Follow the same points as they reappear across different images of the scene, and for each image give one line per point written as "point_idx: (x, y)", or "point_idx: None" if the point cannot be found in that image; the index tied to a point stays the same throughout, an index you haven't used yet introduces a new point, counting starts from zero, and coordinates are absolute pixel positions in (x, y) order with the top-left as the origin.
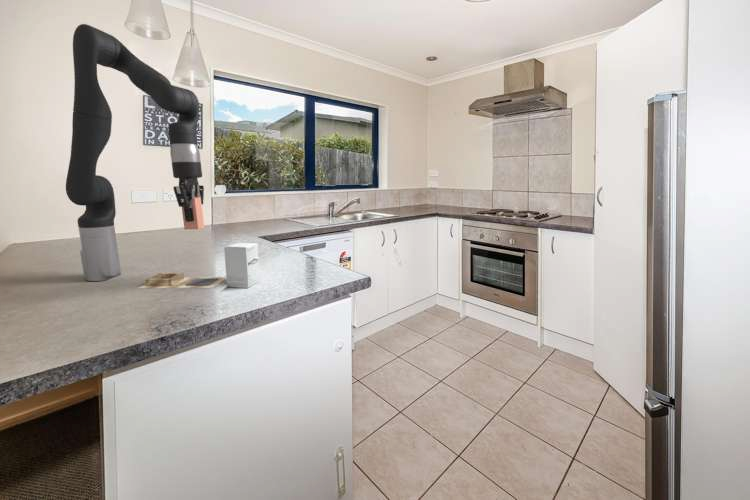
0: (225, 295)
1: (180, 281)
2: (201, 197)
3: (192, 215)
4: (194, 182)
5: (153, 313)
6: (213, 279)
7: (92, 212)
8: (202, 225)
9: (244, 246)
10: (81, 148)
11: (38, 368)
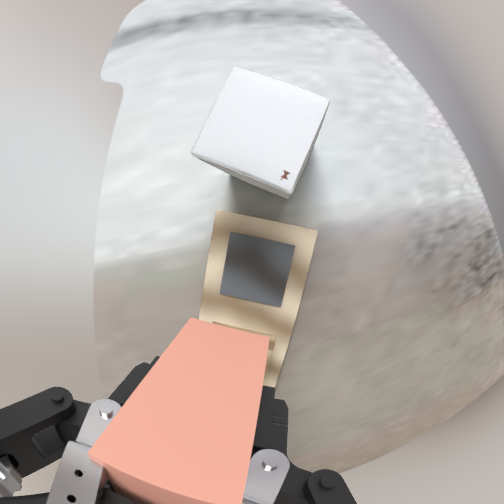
0: (362, 193)
1: (236, 325)
2: (36, 425)
3: (273, 409)
4: None
5: (429, 315)
6: (242, 243)
7: None
8: (207, 329)
9: (309, 106)
10: None
11: None
